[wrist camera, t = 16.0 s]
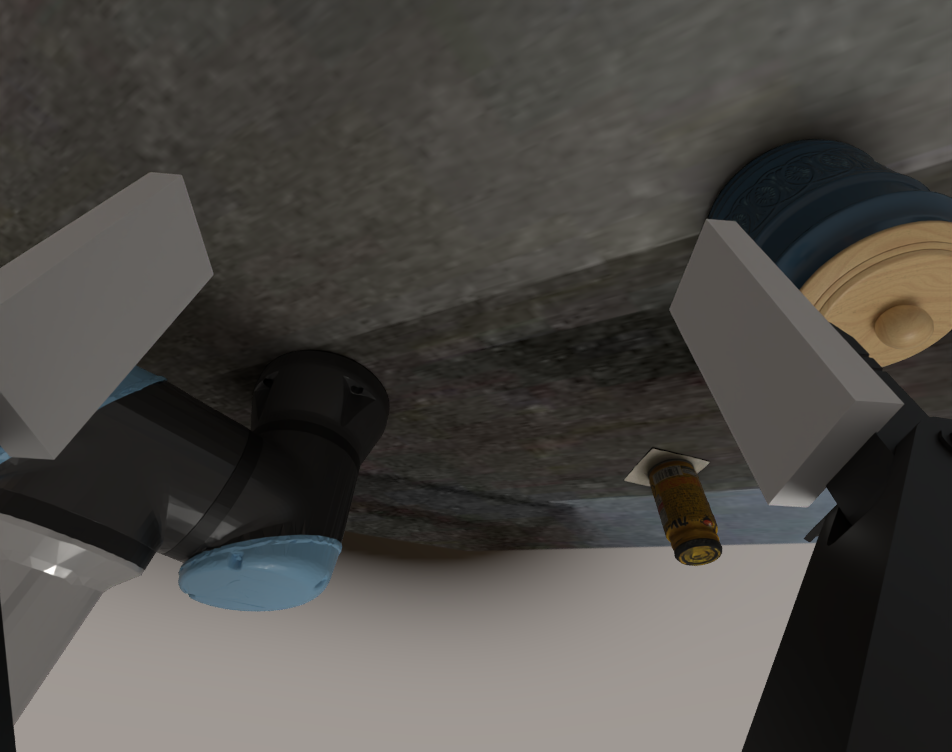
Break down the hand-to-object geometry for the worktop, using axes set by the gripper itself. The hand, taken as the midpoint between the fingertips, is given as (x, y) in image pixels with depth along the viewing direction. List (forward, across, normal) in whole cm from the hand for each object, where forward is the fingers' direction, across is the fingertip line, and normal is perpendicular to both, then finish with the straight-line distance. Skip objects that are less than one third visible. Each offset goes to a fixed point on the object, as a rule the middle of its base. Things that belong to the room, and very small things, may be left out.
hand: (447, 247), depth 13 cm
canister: (+29, -27, +9) cm, 41 cm away
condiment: (+29, -29, +44) cm, 60 cm away
